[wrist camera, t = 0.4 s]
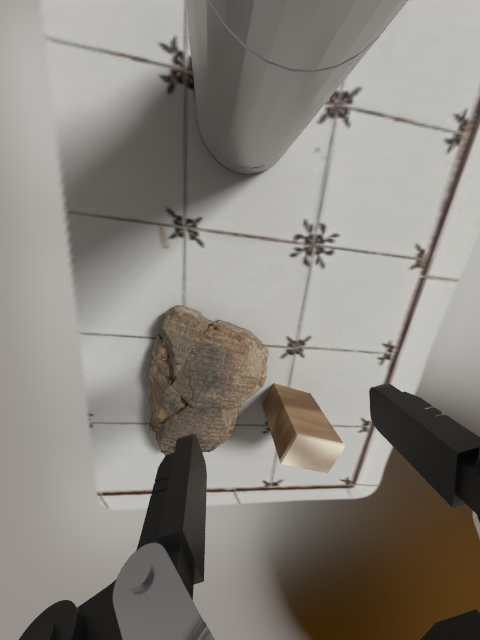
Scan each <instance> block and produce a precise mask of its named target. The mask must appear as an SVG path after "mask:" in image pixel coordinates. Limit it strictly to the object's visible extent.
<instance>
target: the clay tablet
mask: <svg viewBox="0 0 480 640" xmlns="http://www.w3.org/2000/svg"><path fill="white" fill-rule="evenodd" d="M151 356H152V357H153V360H152V362H151V365H150V369H149V371H147V375H148V376H147V380H146V384H147V387H148V389H149V395H148V397H149V402H150V404H151V406H152V417H151V421H150V424H149V430H150V431H154V432H156V440H157V441H158V443H159V446H160V447H161V452H162V453H163V454H164V455H165V456H166V455H167V454H171V453H174V451H175V446H176V441H177V438H179V437H183V436H187V435H191V434H196V436H197V439H198V442H199V445H200V448H201V451H202V452H210V451H213V450H214V449H215V448H217V447H218V446H219V445H220V444H222V443H223V442H224V441H226V440H227V439H228V438H230V437H231V436H232V435H233V433H234V432H233V429H234V425H235V424H236V419H237V416H238V413H239V407H241V406H242V405H243V404H244V402H245V401H246V400H247V399H248V398H250V397H251V396H253V395H254V394H255V393H256V392H257V391H259V390H260V389H261V388H262V386H263V385H264V382H265V380H266V378H267V377H266V374H267V365H266V363H267V360H268V349H267V346H266V345H264V344H262V343H261V341H260V340H258V339H257V338H256V337H255V336H254V335H253V334H252V333H251V332H250V331H248V330H246V329H243V328H240V327H237V326H235V325H233V324H231V323H228V322H224V321H221V320H219V321H218V322H213V321H210V320H208V319H207V318H204V317H203V316H202V315H201V312H199V311H196V310H194V309H190V308H187V307H183V306H180V305H178V306H175V307H174V308H173V309H171V310H169V311H168V312H167V313H165V314H164V319H163V320H162V322H161V325H160V329H159V334H158V335H157V338H156V341H155V344H154V346H153V349H152V351H151Z"/></svg>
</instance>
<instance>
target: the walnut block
mask: <svg viewBox="0 0 480 640" xmlns="http://www.w3.org/2000/svg"><path fill="white" fill-rule="evenodd" d="M263 409H264V412H265V415H266V418H267V422H268V425H269V428H270V431H271V434H272V438H273V441H274V444H275V447H276V450H277V453H278V457H279V460H280V463H281V464H283V465H288V466H294V467H299V468H304V469H309V470H314V471H319V472H325V473H328V472H329V470H330V469H331V467H332V466H333V464H334V463H335V461H336V460H337V458H338V457H339V455H340V454H341V452H342V451H343V449H344V448H345V445H344V444H343V442H342V441H341V439H340V438H339V436H338V435H337V433H336V432H335V430H334V429H333V427H332V426H331V424H330V423H329V421H328V420H327V418H326V417H325V415H324V414H323V412H322V411H321V409H320V407H319V406H318V404H317V403H316V401H315V400H314V398H313V397H312V395H311V394H310V393H306V392H303V391H299V390H296V389H292V388H289V387H285V386H282V385H278V384H275V383H274V384H273V386H272V388H271V390H270V392H269V394H268V396H267V398H266V400H265V402H264V404H263Z"/></svg>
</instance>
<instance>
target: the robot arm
mask: <svg viewBox="0 0 480 640" xmlns="http://www.w3.org/2000/svg"><path fill="white" fill-rule="evenodd" d="M407 1H408V0H185V3H186V13H187V22H188V31H189V41H190V50H191V59H192V68H193V78H194V88H195V98H196V107H197V116H198V123H199V127H200V132H201V135H202V137H203V140H204V142H205V144H206V146H207V148H208V149H209V151H210V152H211V154H212V155H213V156H214V157H215V158H216V159H217V160H218V161H219V162H220V163H221V164H222V165H224V166H225V167H227V168H228V169H230V170H232V171H235V172H238V173H243V174H253V173H259V172H262V171H264V170H267V169H268V168H270V167H271V166H273V165H274V164H275V163H276V162H277V161H278V160H279V159H280V158H281V157H282V156H283V155H284V153H285V152H286V151H287V150H288V148H289V147H290V146H291V145H292V144H293V142H294V141H295V140H296V139H297V138H298V136H299V135H300V134H301V133H302V132H303V130H304V129H305V128H306V127H307V125H308V124H309V123H310V122H311V120H312V119H313V118H314V117H315V115H316V114H317V113H318V112H319V110H320V109H321V108H322V107H323V106H324V104H325V103H326V102H327V101H328V99H329V98H330V97H331V96H332V94H333V93H334V92H335V91H336V89H337V88H338V87H339V86H340V85H341V83H342V82H343V81H344V80H345V78H346V77H347V76H348V75H349V73H350V72H351V71H352V70H353V68H354V67H355V66H356V65H357V64H358V62H359V61H360V60H361V59H362V57H363V56H364V55H365V54H366V52H367V51H368V50H369V49H370V47H371V46H372V45H373V44H374V43H375V41H376V40H377V39H378V38H379V36H380V35H381V34H382V32H383V31H384V30H385V29H386V27H387V26H388V25H389V23H390V22H391V21H392V20H393V19H394V17H395V16H396V15H397V14H398V12H399V11H400V10H401V9H402V7H403V6H404V5H405V4H406V2H407ZM369 393H370V414H371V419H372V422H373V424H374V426H375V427H376V429H377V430H378V431H379V432H380V433H381V434H382V435H383V436H384V437H385V438H386V439H387V440H388V441H389V442H390V443H391V444H392V446H393V447H394V448H395V449H396V450H397V451H398V452H399V453H400V454H401V455H402V456H403V457H404V458H405V459H406V460H407V461H408V462H409V463H410V464H411V465H412V466H413V467H414V468H415V469H416V470H417V471H418V472H419V473H420V475H421V476H422V477H423V478H425V480H426V481H427V482H428V483H429V484H430V485H431V486H432V487H433V488H434V489H435V490H436V491H437V492H438V493H439V494H440V495H441V496H442V497H443V498H444V499H445V500H446V501H447V503H448V504H449V505H451V507H457V506H460V505H463V504H467V505H468V506H469V507H470V508H471V509H472V510H473V520H474V523H475V526H476V529H477V532H478V535H479V538H480V437H478V436H477V435H475V434H474V433H472V432H471V431H469V430H468V429H466V428H465V427H463V426H462V425H460V424H459V423H457V422H456V421H454V420H453V419H451V418H450V417H448V416H447V415H444V414H443V413H442V412H441V411H439V410H438V409H436V408H433V406H432V405H430V404H429V403H427V402H426V401H424V400H423V399H421V398H419V397H417V396H415V395H412V394H409V393H407V392H401V391H400V390H398V389H397V388H395V387H394V386H392V385H391V384H383V385H379V386H376V387H372V388H370V391H369ZM206 482H207V473H206V464H205V460H204V457H203V454H202V451H201V448H200V445H199V442H198V439H197V436H196V434H191V435H187V436H183V437H179V438H177V441H176V446H175V451H174V453H171V454H167V455H166V456H165V458H164V459H163V461H162V463H161V464H160V466H159V467H158V471H157V475H156V479H155V484H154V486H153V490H152V495H151V498H150V502H149V506H148V510H147V514H146V517H145V521H144V525H143V529H142V533H141V536H140V541H139V544H138V547H137V550H136V551H135V552H134V553H133V554H132V555H131V556H130V558H129V559H128V560H127V562H126V563H125V564H124V566H123V567H122V569H121V571H120V573H119V575H118V577H117V579H116V580H115V581H114V582H113V583H112V584H110V585H109V586H108V587H106V588H105V589H103V590H102V591H101V592H99V593H98V594H96V595H95V596H94V597H92V598H90V599H89V600H88V601H86V602H85V603H83V604H82V605H80V606H79V607H78V608H77V607H76V606H75V604H74V603H73V602H72V601H68V600H63V601H59V602H57V603H55V604H53V605H51V606H50V607H48V608H47V609H46V610H45V611H43V612H42V613H41V614H40V615H39V616H38V617H37V618H36V619H35V620H34V621H33V622H32V623H31V624H30V626H29V627H28V628H27V629H26V630H25V632H24V633H23V635H22V636H21V637H20V639H19V640H214V638H213V636H212V634H211V632H210V630H209V629H208V627H207V625H206V623H205V622H204V621H203V619H202V617H201V616H200V614H199V612H198V610H197V608H196V606H195V604H194V602H193V584H197V583H200V582H203V581H204V555H205V519H206ZM421 640H480V614H479V612H478V611H477V610H473V611H470V612H467V613H464V614H461V615H458V616H455V617H452V618H449V619H446V620H443V621H440V622H437V623H435V625H433V627H432V628H431V629H430V630H429V631H428V632H427V633H426V634H425V635H424V636H423V638H422V639H421Z"/></svg>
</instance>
